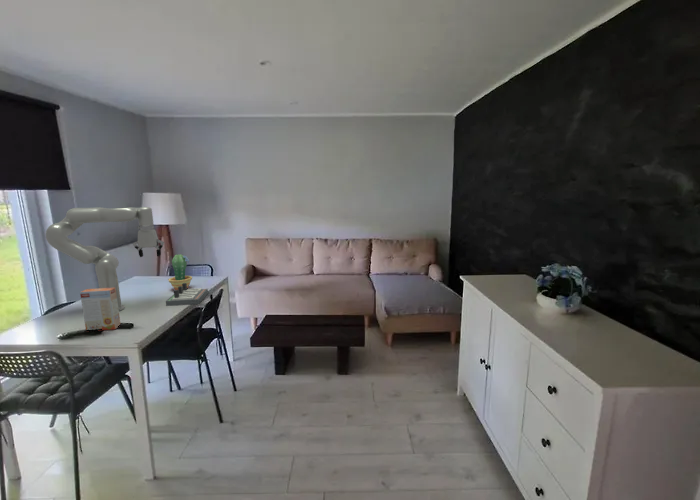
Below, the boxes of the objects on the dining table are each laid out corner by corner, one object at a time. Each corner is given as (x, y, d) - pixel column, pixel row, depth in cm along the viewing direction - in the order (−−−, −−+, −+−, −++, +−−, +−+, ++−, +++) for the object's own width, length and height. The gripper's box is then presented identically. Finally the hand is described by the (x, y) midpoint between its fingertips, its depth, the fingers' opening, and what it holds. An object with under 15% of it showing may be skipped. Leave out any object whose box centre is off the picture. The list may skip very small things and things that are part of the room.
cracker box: (121, 325, 185) (116, 286, 181) (115, 330, 179) (109, 290, 175) (92, 327, 184) (86, 288, 180) (85, 331, 178) (79, 291, 174)
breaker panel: (198, 303, 217) (197, 290, 216) (166, 306, 215) (164, 292, 213) (208, 293, 240) (206, 281, 238) (178, 294, 237) (177, 282, 236)
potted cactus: (184, 292, 242) (181, 256, 238) (164, 291, 245) (160, 256, 240) (197, 286, 257) (194, 252, 253) (178, 285, 260) (174, 252, 255)
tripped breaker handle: (182, 293, 225) (181, 287, 224) (178, 293, 225) (178, 287, 224) (183, 292, 227) (182, 286, 227) (179, 292, 227) (179, 286, 226)
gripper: (128, 229, 205) (131, 258, 208) (159, 228, 207) (163, 256, 210) (133, 227, 212) (137, 255, 215) (164, 226, 215) (167, 254, 218)
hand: (150, 256), depth 213 cm, fingers open, 9 cm apart
